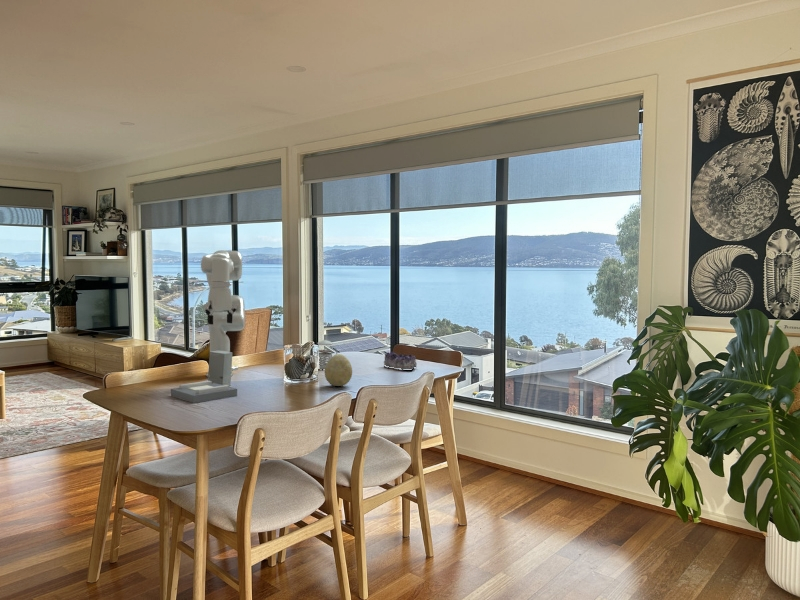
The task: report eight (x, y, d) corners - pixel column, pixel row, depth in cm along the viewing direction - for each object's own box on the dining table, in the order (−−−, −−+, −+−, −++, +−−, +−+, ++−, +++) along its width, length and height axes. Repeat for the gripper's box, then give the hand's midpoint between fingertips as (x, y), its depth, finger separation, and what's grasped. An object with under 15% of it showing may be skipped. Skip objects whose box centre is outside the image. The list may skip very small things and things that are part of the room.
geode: (377, 368, 337) (378, 350, 338) (388, 368, 347) (389, 350, 348) (409, 371, 326) (410, 352, 327) (420, 371, 336) (421, 352, 337)
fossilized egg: (324, 383, 291) (325, 352, 290) (352, 384, 292) (352, 352, 291) (323, 389, 278) (324, 356, 277) (351, 389, 279) (352, 356, 278)
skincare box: (207, 386, 277) (207, 351, 276) (217, 384, 284) (217, 349, 283) (223, 388, 274) (223, 353, 273) (232, 385, 281) (232, 351, 280)
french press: (318, 366, 337) (318, 321, 336) (338, 367, 335) (339, 321, 334) (313, 369, 327) (313, 322, 326) (334, 370, 326) (335, 323, 324)
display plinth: (213, 389, 272) (213, 379, 271) (237, 395, 260) (237, 385, 260) (170, 395, 256) (170, 385, 256) (194, 403, 245) (194, 391, 244)
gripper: (232, 285, 285) (232, 322, 286) (198, 285, 272) (198, 324, 273) (241, 285, 280) (241, 323, 281) (207, 286, 267) (207, 325, 268)
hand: (220, 323), depth 277 cm, fingers open, 9 cm apart
